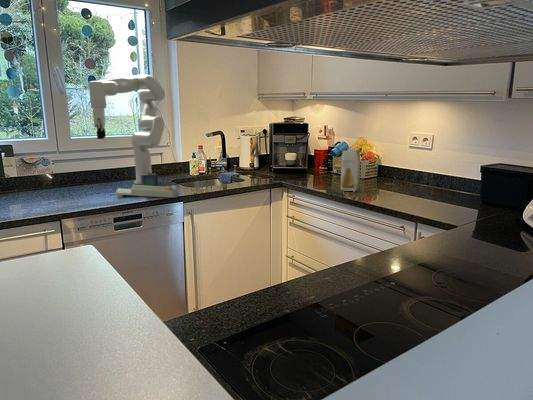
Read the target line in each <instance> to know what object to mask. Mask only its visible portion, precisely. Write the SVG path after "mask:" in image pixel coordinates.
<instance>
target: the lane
mask: <svg viewBox="0 0 533 400" xmlns="http://www.w3.org/2000/svg"><path fill="white" fill-rule="evenodd" d="M165 187H166V186H162V185H161V186H159V185H158V186H144V185H141V184H131V188H119V187H118V188H117V190H116V193H115V194H116V196H117V198H118V199H119V198H124V196H139V197H154V198H155V197H156V198H157V197H159V198H178V193H177V188H176V185H175V184H174V185H173V184H171V185H170V187H171V188H172V191H168V190H164V188H165Z"/></svg>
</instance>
